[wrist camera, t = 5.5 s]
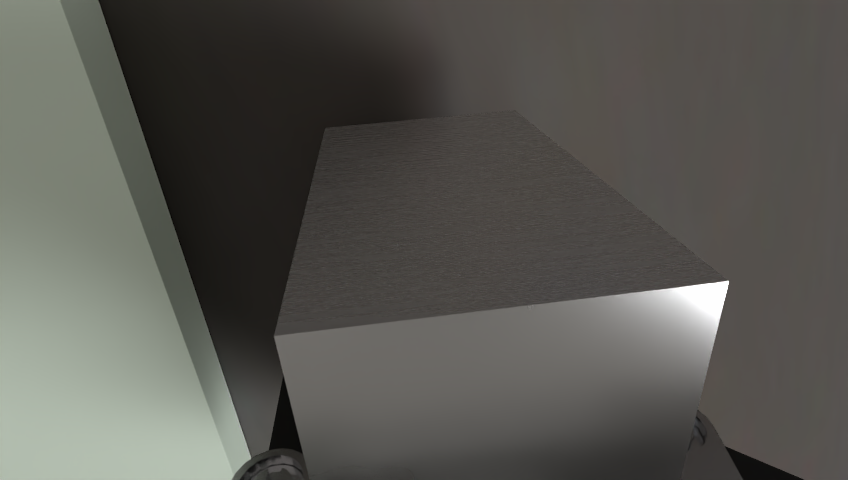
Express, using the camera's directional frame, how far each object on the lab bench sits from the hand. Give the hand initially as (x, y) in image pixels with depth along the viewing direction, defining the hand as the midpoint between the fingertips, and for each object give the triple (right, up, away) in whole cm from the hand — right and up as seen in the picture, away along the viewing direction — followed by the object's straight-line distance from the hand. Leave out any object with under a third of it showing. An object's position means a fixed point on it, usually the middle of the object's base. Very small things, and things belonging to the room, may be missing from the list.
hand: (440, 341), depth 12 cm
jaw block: (0, 0, +1) cm, 1 cm away
